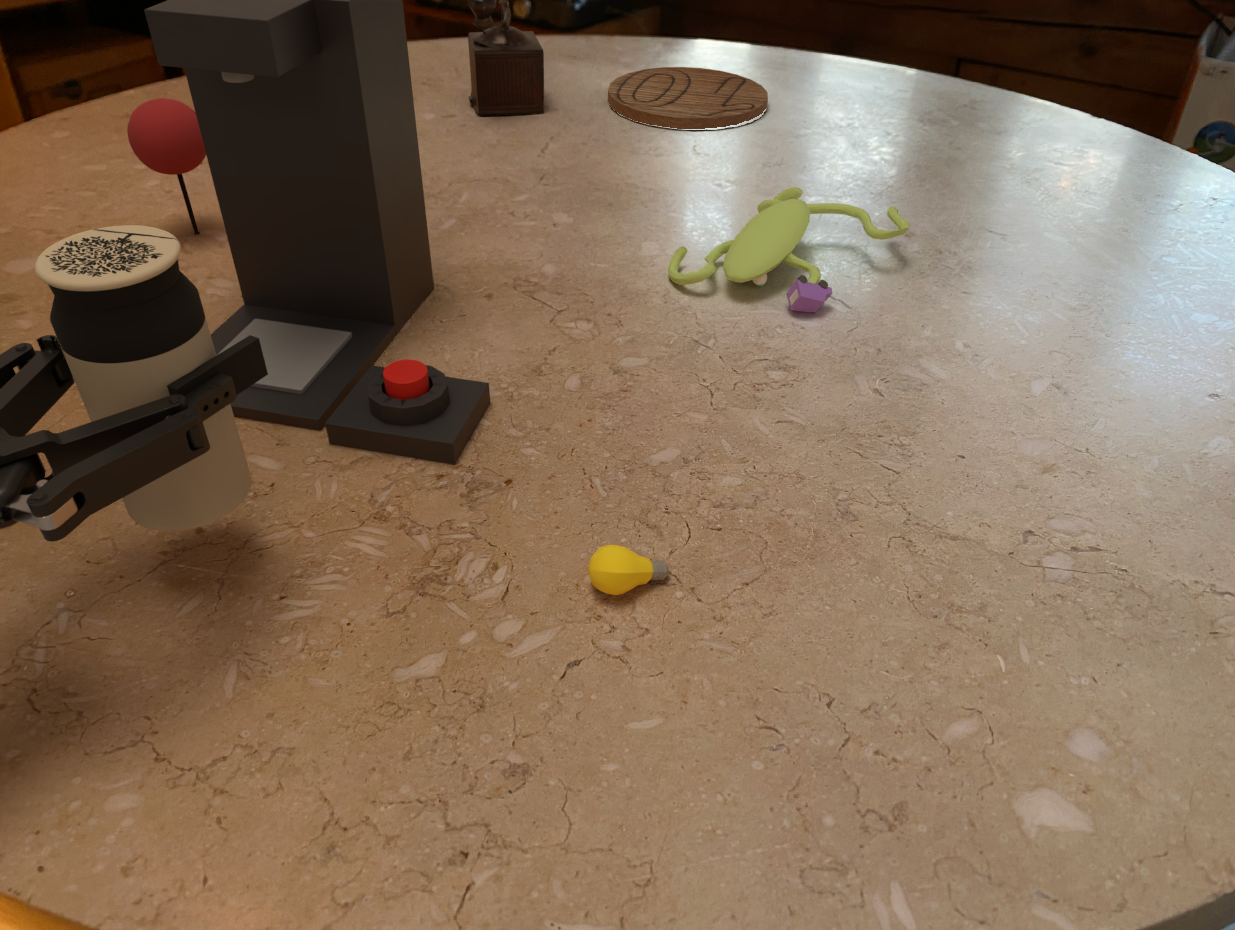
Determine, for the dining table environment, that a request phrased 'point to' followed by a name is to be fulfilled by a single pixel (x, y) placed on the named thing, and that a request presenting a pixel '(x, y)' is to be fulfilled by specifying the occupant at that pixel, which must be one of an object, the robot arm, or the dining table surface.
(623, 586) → the light bulb
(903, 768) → the dining table surface
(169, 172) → the lollipop
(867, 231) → the figurine
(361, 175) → the coffee maker
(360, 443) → the panel
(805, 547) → the dining table surface
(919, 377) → the dining table surface
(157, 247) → the travel mug
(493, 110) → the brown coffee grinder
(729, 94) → the trivet
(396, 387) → the button
